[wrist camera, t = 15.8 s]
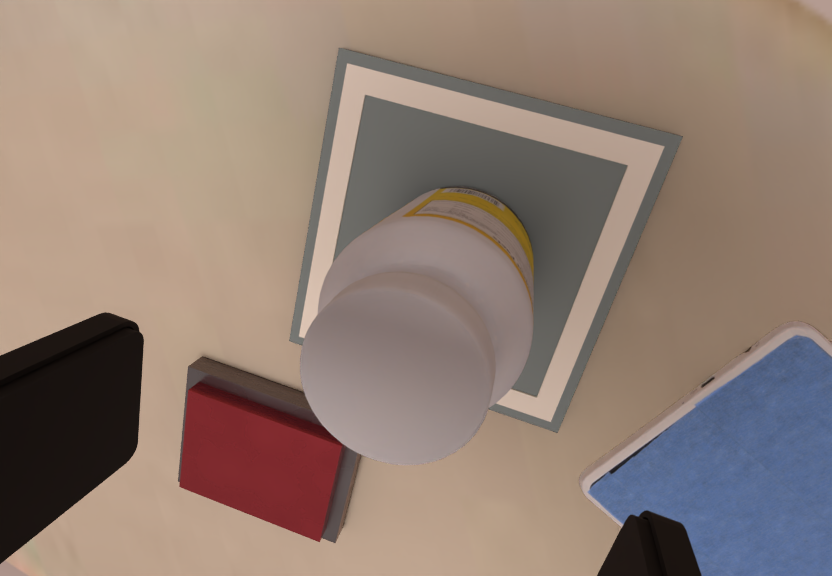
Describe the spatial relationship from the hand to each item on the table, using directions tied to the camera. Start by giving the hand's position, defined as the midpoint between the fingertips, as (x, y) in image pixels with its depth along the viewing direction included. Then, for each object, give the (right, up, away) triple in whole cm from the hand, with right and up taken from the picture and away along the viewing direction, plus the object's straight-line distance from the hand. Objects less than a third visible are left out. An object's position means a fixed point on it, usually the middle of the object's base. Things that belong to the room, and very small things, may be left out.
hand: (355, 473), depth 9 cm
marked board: (+3, +5, +14) cm, 15 cm away
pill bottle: (+3, +5, +14) cm, 15 cm away
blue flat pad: (+20, -8, +15) cm, 26 cm away
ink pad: (-7, -6, +20) cm, 22 cm away
